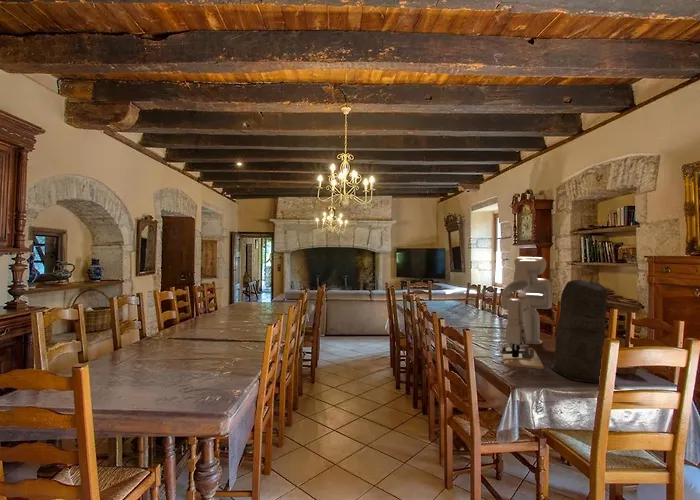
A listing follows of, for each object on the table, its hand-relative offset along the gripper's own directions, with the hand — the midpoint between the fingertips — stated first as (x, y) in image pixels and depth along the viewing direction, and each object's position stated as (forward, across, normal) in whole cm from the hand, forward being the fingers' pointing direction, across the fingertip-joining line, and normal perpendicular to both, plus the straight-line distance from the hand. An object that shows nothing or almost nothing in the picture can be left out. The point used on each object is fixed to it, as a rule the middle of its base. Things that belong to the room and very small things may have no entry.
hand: (515, 356), depth 197 cm
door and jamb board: (+2, +4, -7) cm, 9 cm away
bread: (+3, -27, -35) cm, 45 cm away
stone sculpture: (+3, -29, -10) cm, 31 cm away
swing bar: (-1, +3, -1) cm, 3 cm away
